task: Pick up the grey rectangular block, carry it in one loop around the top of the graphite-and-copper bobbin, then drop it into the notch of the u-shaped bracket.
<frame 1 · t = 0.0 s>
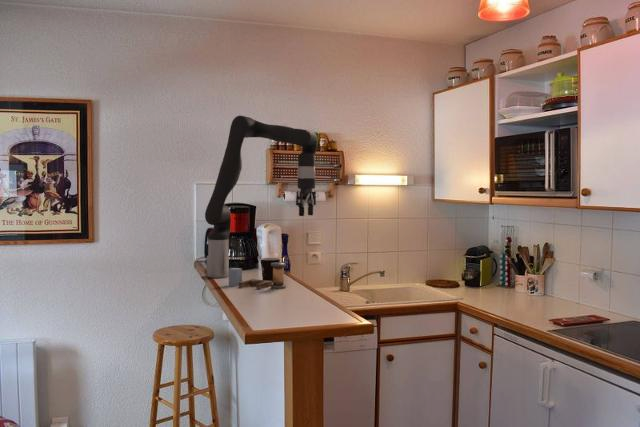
hand: (306, 215, 228), 29 cm above the countertop, tool pointing down, fingers open, 8 cm apart
u-shaped bracket: (255, 286, 222), on the countertop
grey rectangular block: (235, 285, 225), on the countertop
coffee mug: (270, 281, 237), on the countertop
bobbin: (278, 287, 220), on the countertop
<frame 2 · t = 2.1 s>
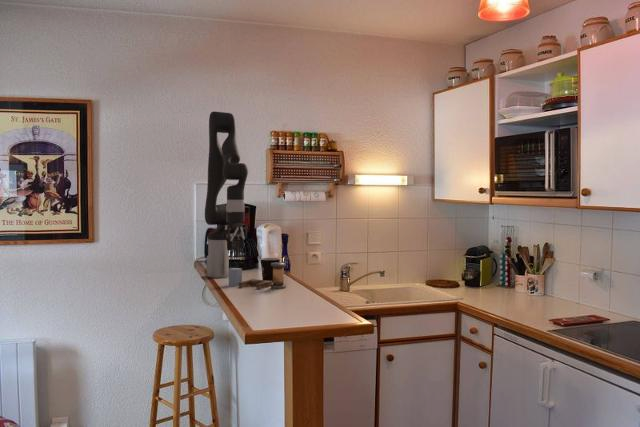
hand: (235, 249, 225), 15 cm above the countertop, tool pointing down, fingers open, 8 cm apart
nothing on the countertop moved.
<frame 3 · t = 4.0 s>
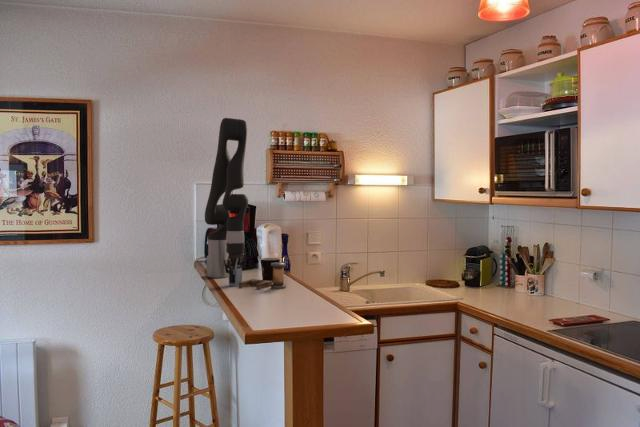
hand: (235, 282, 225), 1 cm above the countertop, tool pointing down, fingers closed on grey rectangular block, 4 cm apart
grey rectangular block: (235, 285, 225), on the countertop, touching gripper
everything else where it was.
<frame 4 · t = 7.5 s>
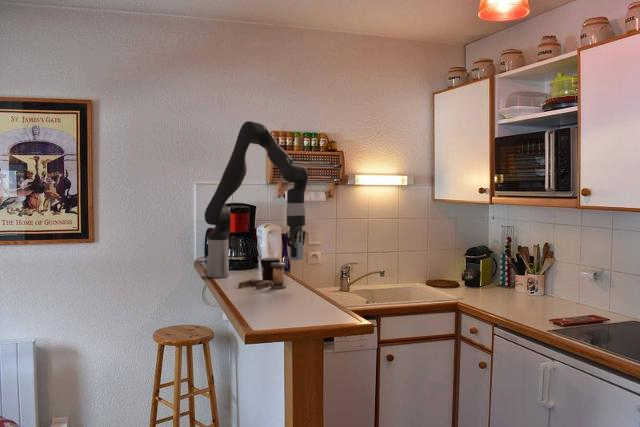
hand: (296, 256, 218), 13 cm above the countertop, tool pointing down, fingers closed on grey rectangular block, 4 cm apart
grey rectangular block: (296, 259, 218), point 12 cm above the countertop, touching gripper
everything else where it was.
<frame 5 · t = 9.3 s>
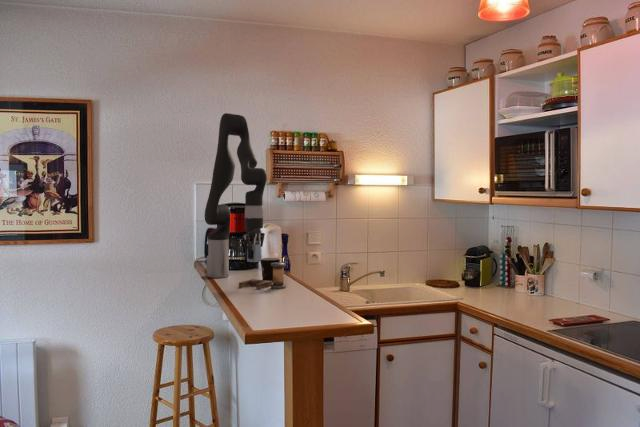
hand: (253, 258, 220), 12 cm above the countertop, tool pointing down, fingers closed on grey rectangular block, 4 cm apart
grey rectangular block: (253, 261, 220), point 11 cm above the countertop, touching gripper
everything else where it was.
when the fingers open (4 cm above the countertop, at t = 11.1 s): grey rectangular block drops 2 cm, on the countertop.
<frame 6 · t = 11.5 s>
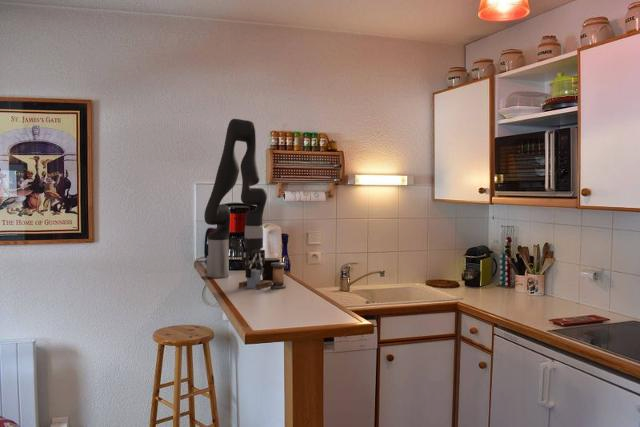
hand: (253, 276, 220), 4 cm above the countertop, tool pointing down, fingers open, 7 cm apart
grey rectangular block: (253, 287, 221), on the countertop
everything else where it was.
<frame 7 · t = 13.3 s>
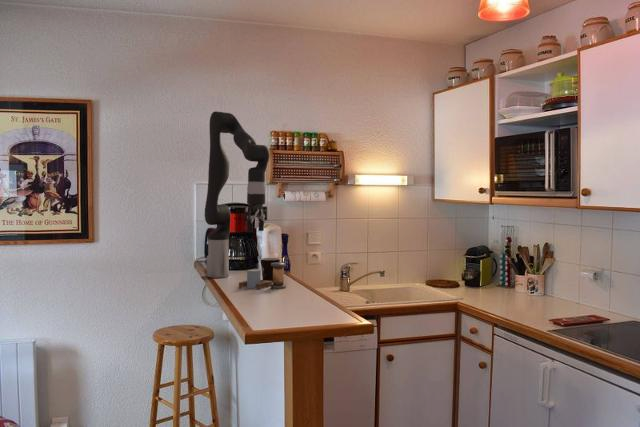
hand: (255, 231, 224), 23 cm above the countertop, tool pointing down, fingers open, 8 cm apart
nothing on the countertop moved.
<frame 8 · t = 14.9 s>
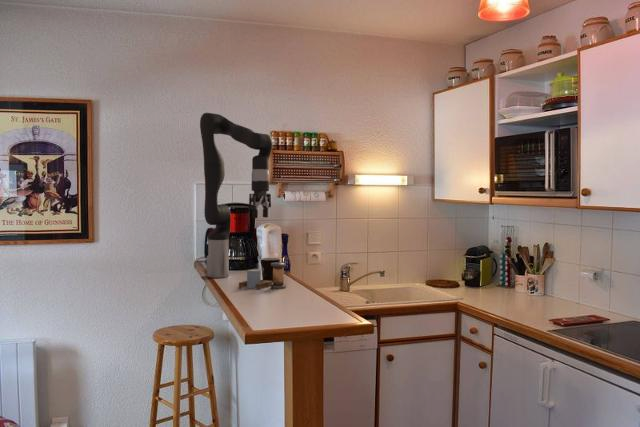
hand: (260, 217, 231), 28 cm above the countertop, tool pointing down, fingers open, 8 cm apart
nothing on the countertop moved.
at the end: grey rectangular block 0.1 cm from the target spot on the u-shaped bracket, point 0.0 cm above the u-shaped bracket's base; grey rectangular block tilted 0°; the gripper is holding nothing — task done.
